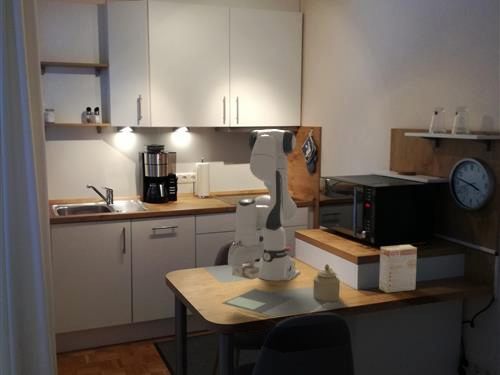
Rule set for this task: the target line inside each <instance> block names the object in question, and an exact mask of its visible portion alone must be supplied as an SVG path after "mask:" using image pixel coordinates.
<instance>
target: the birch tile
mask: <svg viewBox="0 0 500 375" xmlns="http://www.w3.org/2000/svg"><path fill="white" fill-rule="evenodd" d="M231 267H232V269H231V272H232V276H235V277H239V278H243V279H248V280H254V279H257V278H260V277H259V266H256V265H254V266H251V265H249V264H247V263H244V264H243V266H242V269H243V270H244V274H242V275H240V274H238V268H237V266H235V267H234V266H231Z"/></svg>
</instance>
